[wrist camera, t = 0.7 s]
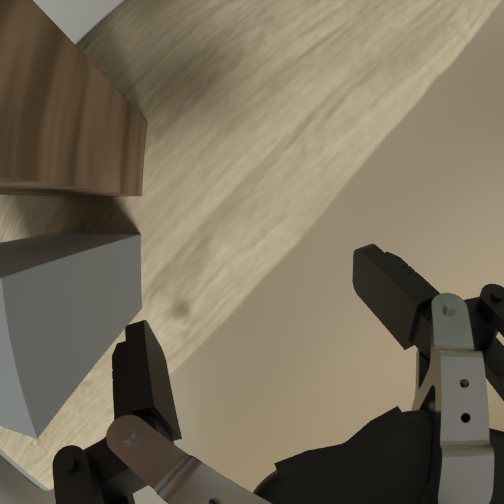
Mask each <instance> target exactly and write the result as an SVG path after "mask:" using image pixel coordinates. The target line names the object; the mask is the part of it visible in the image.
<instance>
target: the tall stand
mask: <svg viewBox="0 0 504 504" xmlns="http://www.w3.org/2000/svg"><path fill="white" fill-rule="evenodd" d="M146 128H147V121H146V120H145V119H144V118H143V117H142V116H141V115H140V114H139V113H138V112H137V111H136V110H135V109H134V107H133V106H132V105H131V104H130V103H129V102H128V101H127V100H126V99H125V98H124V97H123V96H122V95H121V93H120V92H119V91H118V90H117V89H116V88H115V87H114V86H113V85H112V84H111V83H110V82H109V81H108V80H107V78H106V77H105V76H104V75H103V74H102V73H101V72H100V71H99V70H98V69H97V68H96V67H95V66H94V65H93V64H92V62H91V61H90V60H89V59H88V58H87V57H86V56H85V55H84V54H83V53H82V52H81V51H80V50H79V49H78V48H77V47H76V45H75V44H74V43H73V42H72V41H71V40H70V39H69V38H68V37H67V36H66V35H65V34H64V33H63V32H62V31H61V30H60V29H59V27H58V26H57V25H56V24H55V23H54V22H53V21H52V20H51V19H50V18H49V17H48V16H47V15H46V14H45V13H44V12H43V11H42V10H41V9H40V8H39V7H38V5H37V4H36V3H35V2H34V1H33V0H0V194H4V195H29V196H49V197H87V196H142V181H143V165H144V151H145V139H146Z"/></svg>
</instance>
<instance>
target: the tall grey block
mask: <svg viewBox="0 0 504 504" xmlns="http://www.w3.org/2000/svg"><path fill="white" fill-rule="evenodd" d="M141 309H142V301H141V234H102V233H55V234H49V235H43V236H37V237H31V238H25V239H19V240H13V241H8V242H2V243H0V426H2V427H5V428H8V429H10V430H13V431H16V432H19V433H22V434H25V435H28V436H31V437H34V438H37V439H38V437H39V436H40V435H41V433H42V432H43V431H44V429H45V428H46V427H47V425H48V424H49V423H50V421H51V420H52V419H53V417H54V416H55V415H56V414H57V412H58V411H59V410H60V408H61V407H62V406H63V404H64V403H65V402H66V401H67V399H68V398H69V397H70V395H71V394H72V393H73V392H74V390H75V389H76V388H77V387H78V385H79V384H80V383H81V382H82V380H83V379H84V378H85V376H86V375H87V374H88V373H89V371H90V370H91V369H92V368H93V367H94V365H95V364H96V363H97V362H98V360H99V359H100V358H101V357H102V355H103V354H104V353H105V352H106V351H107V349H108V348H109V347H110V346H111V344H112V343H113V342H114V341H115V340H116V338H117V337H118V336H119V335H120V334H121V332H122V331H123V330H124V329H125V328H126V326H127V325H128V324H129V323H130V322H131V320H132V319H133V318H134V317H135V316H136V315H137V313H138V312H139V311H140V310H141Z"/></svg>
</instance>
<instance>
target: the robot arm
mask: <svg viewBox="0 0 504 504" xmlns="http://www.w3.org/2000/svg"><path fill="white" fill-rule="evenodd" d="M353 286H354V289H355V291H356V293H357V295H358V296H359V297H360V298H361V299H362V300H363V302H364V303H365V304H366V305H367V306H368V307H369V308H370V310H371V311H372V312H373V313H374V314H375V315H376V317H377V318H378V319H379V320H380V321H381V322H382V324H383V325H384V326H385V327H386V328H387V329H388V331H389V332H390V333H391V334H392V335H393V336H394V338H395V339H396V340H397V341H398V342H399V344H400V345H401V346H402V347H403V348H404V350H406V349H408V348H410V347H411V346H413V345H415V346H416V347H417V348H418V349H417V353H416V388H415V398H414V402H413V405H412V410H411V411H406V412H401V410H400V409H399V407H398V406H397V407H395V408H393V409H392V410H390V411H388V412H386V413H384V414H383V415H381V416H379V417H377V418H375V419H374V420H371V421H370V422H369V423H368V424H367V425H366V426H364V427H363V428H362V429H361V430H360V431H358V432H357V433H356V434H355V435H354V436H353V437H351V438H350V439H349V440H348V441H346V442H345V443H343V444H339V445H335V446H330V447H325V448H319V449H315V450H308V451H305V452H303V453H301V454H298V455H295V456H293V457H290V458H287V459H285V460H282V461H279V462H277V463H275V466H276V469H277V470H276V471H275V472H273V473H272V474H270V475H269V476H267V477H266V478H265V479H264V480H263V481H262V482H261V483H260V484H259V485H258V486H257V488H256V489H255V490H254V492H253V493H251V492H250V491H248V490H246V489H245V488H243V487H241V486H239V485H238V484H236V483H234V482H233V481H231V480H230V479H228V478H226V477H225V476H223V475H221V474H220V473H218V472H217V471H215V470H214V469H212V468H211V467H209V466H207V465H206V464H204V463H203V462H201V461H200V460H198V459H197V458H195V457H193V456H190V455H188V454H187V453H185V452H184V451H182V450H181V449H180V448H178V447H177V446H176V445H174V442H173V441H174V440H178V439H182V437H181V432H180V428H179V424H178V419H177V415H176V410H175V405H174V400H173V395H172V390H171V386H170V380H169V374H168V369H167V363H166V359H165V356H164V353H163V350H162V348H161V346H160V344H159V343H158V341H157V339H156V337H155V335H154V333H153V332H152V330H151V328H150V326H149V324H148V322H147V321H146V320H143V321H140V322H136V323H133V324H130V325H127V326H126V328H125V334H126V341H124V342H121V343H117V345H116V348H115V350H114V352H113V355H112V369H113V371H112V378H113V401H114V421H113V422H112V424H111V425H110V426H109V428H108V430H107V434H106V437H105V438H104V439H102V440H101V441H99V442H97V443H95V444H94V445H92V446H90V447H88V448H86V449H84V450H82V449H81V448H80V447H78V446H74V445H70V446H65V447H63V448H62V449H60V450H59V451H58V452H57V454H56V455H55V457H54V460H53V479H54V490H55V499H56V504H135V502H134V498H133V493H135V492H136V491H138V490H140V489H142V488H144V487H145V486H147V485H149V486H150V487H152V488H153V489H154V490H155V491H156V492H157V494H158V495H159V496H160V497H161V498H162V499H163V500H164V501H166V502H167V503H168V504H504V432H502V431H499V430H495V429H490V428H489V415H488V398H487V387H486V378H487V380H488V381H489V382H490V384H491V385H492V386H493V387H494V389H495V390H496V391H497V393H498V394H499V395H500V397H501V398H502V400H503V401H504V346H503V345H502V343H501V342H500V341H499V340H498V339H497V338H496V336H497V334H498V332H500V333H501V335H502V336H503V337H504V288H503V287H501V286H500V285H496V284H489V285H486V286H484V287H483V288H482V291H481V293H480V296H479V297H476V298H471V299H467V300H463V299H461V298H460V297H459V296H457V295H455V294H451V293H442V294H440V293H439V292H438V291H437V290H436V289H435V288H434V287H433V286H431V285H430V284H429V283H428V282H427V281H426V280H425V279H424V278H423V277H422V276H420V275H419V274H418V273H417V272H415V270H413V269H412V268H411V267H410V266H408V264H407V263H406V262H404V261H403V260H402V259H401V258H400V257H398V256H396V255H394V254H391V253H389V252H385V253H384V252H383V251H382V250H381V249H379V248H378V247H377V246H376V245H375V244H369V245H367V246H364V247H361V248H358V249H356V250H355V251H354V255H353Z"/></svg>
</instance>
